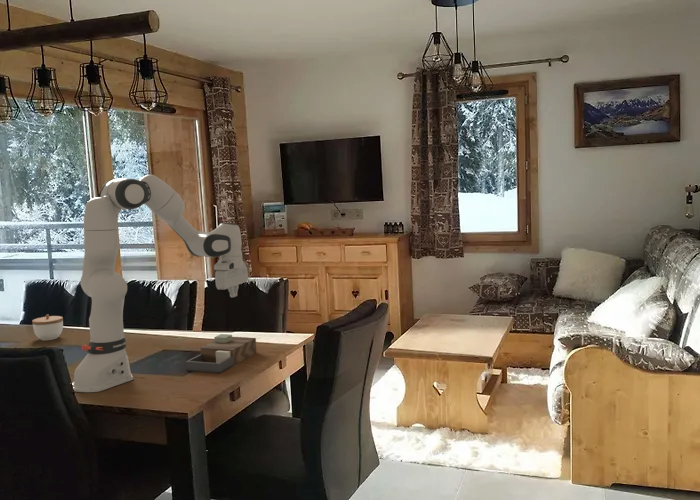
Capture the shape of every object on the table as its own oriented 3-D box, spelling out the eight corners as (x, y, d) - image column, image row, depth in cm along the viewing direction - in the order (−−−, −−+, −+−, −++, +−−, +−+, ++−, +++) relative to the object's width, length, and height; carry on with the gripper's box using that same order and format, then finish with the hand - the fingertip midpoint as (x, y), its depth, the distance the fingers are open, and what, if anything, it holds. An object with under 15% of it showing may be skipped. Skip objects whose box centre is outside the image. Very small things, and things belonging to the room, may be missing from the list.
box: (219, 373, 225) (219, 363, 224) (186, 370, 229) (185, 361, 229) (233, 365, 234) (233, 356, 234) (201, 363, 239) (200, 354, 238)
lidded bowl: (44, 343, 278) (42, 318, 277) (27, 340, 285) (25, 316, 284) (70, 336, 289) (68, 313, 288) (53, 334, 295) (51, 311, 294)
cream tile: (230, 364, 234) (228, 365, 232) (219, 363, 235) (216, 364, 233) (230, 351, 233) (227, 352, 231) (218, 350, 235) (215, 351, 233)
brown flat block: (233, 365, 234) (233, 349, 233) (201, 363, 239) (200, 347, 238) (256, 352, 251) (255, 337, 250) (225, 350, 256) (224, 336, 255)
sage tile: (225, 342, 244) (225, 337, 244) (214, 342, 246) (214, 337, 245) (232, 339, 249) (232, 334, 249) (221, 339, 250) (220, 334, 250)
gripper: (237, 259, 264) (239, 291, 265) (211, 266, 245) (213, 301, 246) (250, 259, 262) (252, 292, 263) (225, 266, 242) (227, 301, 244)
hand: (233, 296), depth 254 cm, fingers closed
